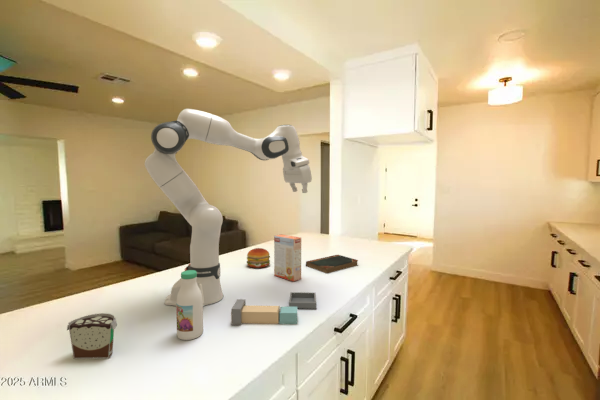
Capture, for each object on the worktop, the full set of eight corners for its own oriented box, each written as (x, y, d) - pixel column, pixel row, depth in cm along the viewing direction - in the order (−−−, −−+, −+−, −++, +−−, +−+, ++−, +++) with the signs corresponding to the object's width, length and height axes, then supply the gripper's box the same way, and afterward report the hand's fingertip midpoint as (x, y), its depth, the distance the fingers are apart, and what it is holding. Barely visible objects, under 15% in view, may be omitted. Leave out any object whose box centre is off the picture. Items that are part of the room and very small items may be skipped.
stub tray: (289, 309, 110) (289, 302, 110) (290, 298, 120) (290, 292, 120) (316, 309, 110) (316, 302, 109) (315, 298, 120) (315, 292, 120)
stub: (279, 324, 98) (279, 312, 98) (280, 317, 103) (280, 306, 103) (297, 324, 98) (297, 312, 98) (297, 317, 103) (297, 306, 103)
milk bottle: (194, 325, 97) (193, 266, 96) (208, 333, 92) (206, 271, 91) (172, 335, 91) (170, 272, 90) (185, 343, 86) (183, 277, 85)
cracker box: (302, 279, 143) (302, 237, 142) (293, 282, 139) (293, 238, 137) (282, 273, 153) (282, 233, 151) (273, 275, 148) (273, 235, 147)
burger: (244, 269, 160) (243, 251, 159) (249, 262, 173) (249, 245, 173) (268, 269, 159) (268, 251, 159) (271, 262, 173) (271, 245, 172)
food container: (127, 345, 85) (126, 312, 85) (114, 358, 79) (113, 322, 79) (84, 346, 85) (82, 312, 84) (68, 358, 79) (66, 322, 78)
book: (326, 274, 152) (358, 266, 167) (326, 268, 152) (358, 260, 167) (305, 267, 166) (336, 259, 181) (305, 260, 165) (337, 254, 181)
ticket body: (230, 325, 97) (229, 308, 97) (235, 314, 105) (235, 299, 105) (277, 325, 97) (277, 309, 97) (280, 314, 105) (280, 299, 105)
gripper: (277, 164, 136) (284, 192, 139) (297, 162, 118) (304, 195, 121) (289, 161, 139) (295, 189, 141) (310, 159, 121) (317, 191, 123)
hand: (300, 192), depth 131 cm, fingers open, 8 cm apart
